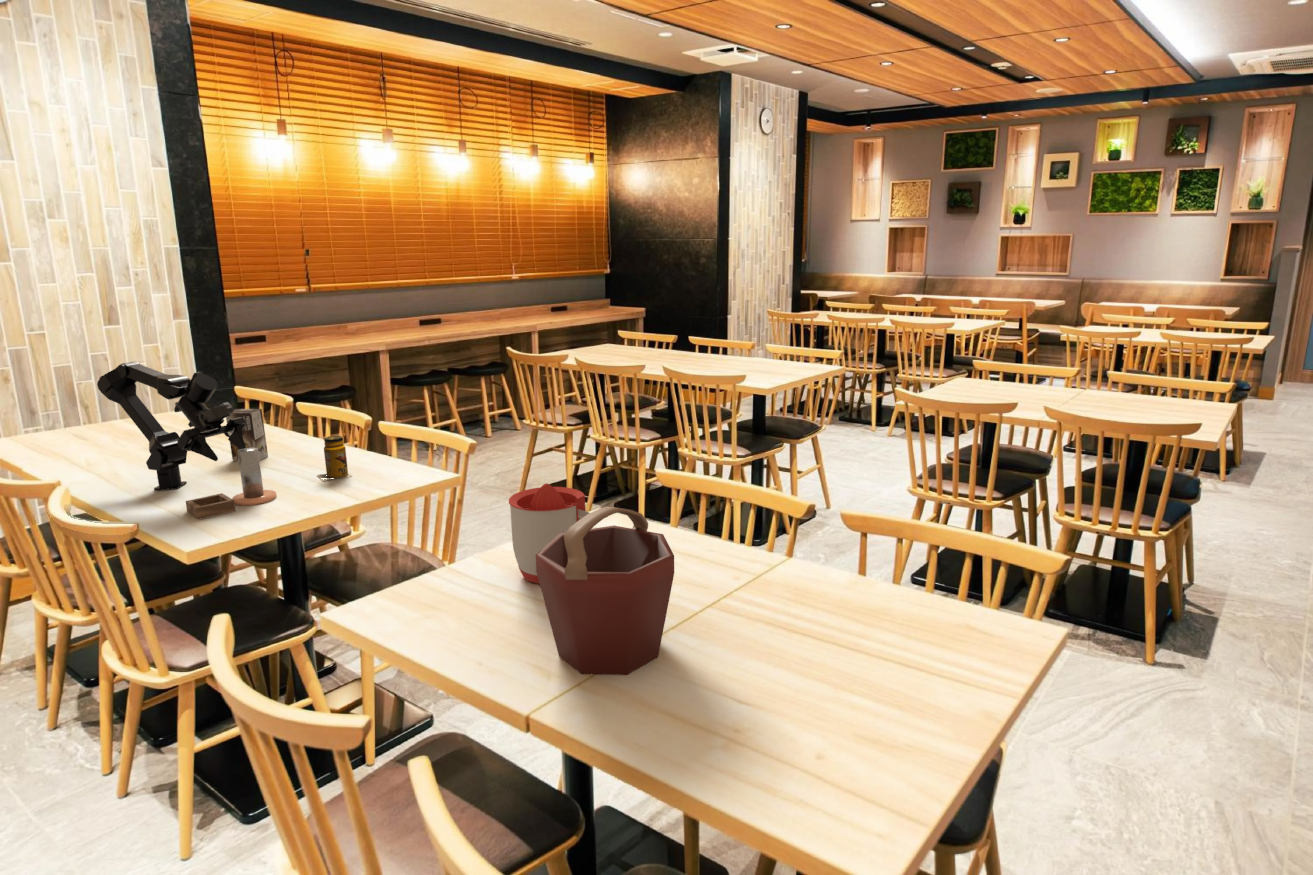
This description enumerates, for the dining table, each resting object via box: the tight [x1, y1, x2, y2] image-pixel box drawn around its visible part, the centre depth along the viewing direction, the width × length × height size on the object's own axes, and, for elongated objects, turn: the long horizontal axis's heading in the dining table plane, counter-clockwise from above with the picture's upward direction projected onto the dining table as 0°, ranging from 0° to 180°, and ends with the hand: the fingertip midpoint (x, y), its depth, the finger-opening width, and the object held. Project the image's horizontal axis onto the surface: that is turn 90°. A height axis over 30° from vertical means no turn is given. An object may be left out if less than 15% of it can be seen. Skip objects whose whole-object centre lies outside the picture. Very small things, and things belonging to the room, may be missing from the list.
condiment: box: [317, 435, 352, 482], centre depth 248 cm, size 7×8×12 cm
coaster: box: [231, 489, 277, 507], centre depth 228 cm, size 11×11×1 cm
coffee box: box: [225, 408, 269, 462], centre depth 269 cm, size 9×6×16 cm
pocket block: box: [185, 493, 237, 520], centre depth 218 cm, size 9×9×3 cm
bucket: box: [536, 505, 675, 676], centre depth 139 cm, size 24×22×25 cm
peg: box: [238, 448, 264, 498], centre depth 226 cm, size 5×5×13 cm
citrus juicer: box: [508, 482, 590, 585], centre depth 171 cm, size 16×17×20 cm
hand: (231, 455), depth 228 cm, fingers open, 9 cm apart
